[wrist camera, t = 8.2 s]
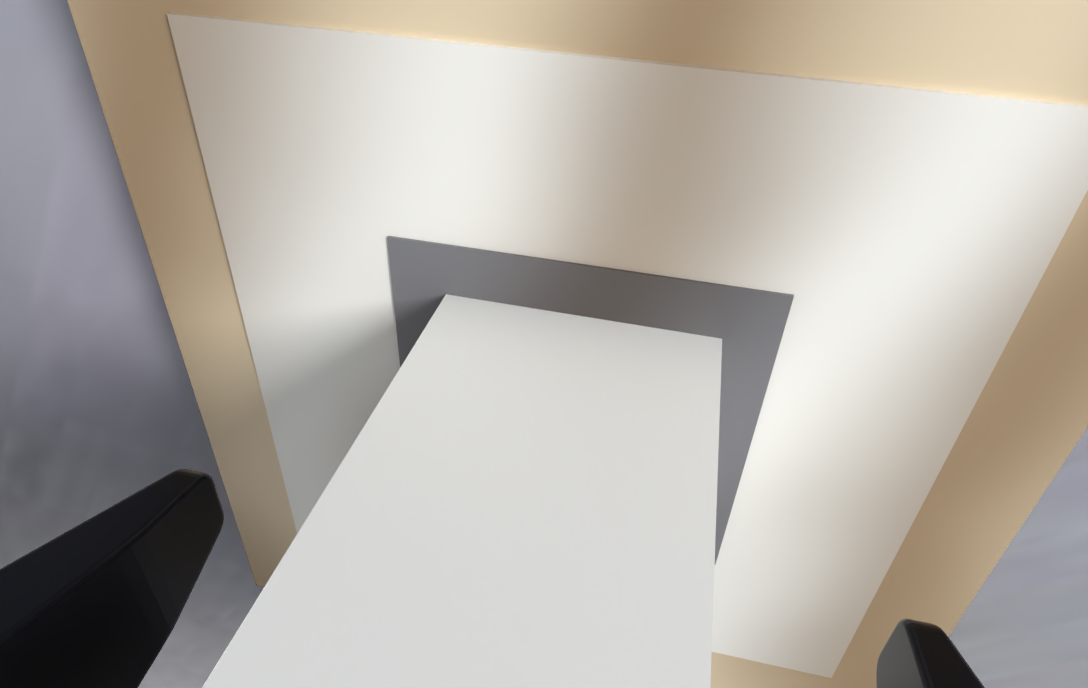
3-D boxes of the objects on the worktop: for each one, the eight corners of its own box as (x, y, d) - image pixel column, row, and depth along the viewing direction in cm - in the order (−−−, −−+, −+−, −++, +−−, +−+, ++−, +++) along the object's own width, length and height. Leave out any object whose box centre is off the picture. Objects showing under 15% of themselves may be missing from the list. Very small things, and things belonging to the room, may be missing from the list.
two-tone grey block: (731, 333, 10) (714, 1238, 4) (681, 531, 12) (622, 1270, 6) (439, 287, 11) (-13, 990, 4) (448, 484, 13) (174, 1113, 7)
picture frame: (1313, -59, 7) (1411, -39, 6) (877, 673, 16) (888, 736, 15) (94, -142, 9) (11, -138, 8) (282, 544, 18) (252, 590, 17)
